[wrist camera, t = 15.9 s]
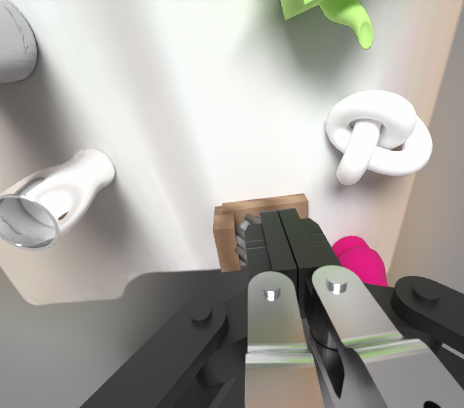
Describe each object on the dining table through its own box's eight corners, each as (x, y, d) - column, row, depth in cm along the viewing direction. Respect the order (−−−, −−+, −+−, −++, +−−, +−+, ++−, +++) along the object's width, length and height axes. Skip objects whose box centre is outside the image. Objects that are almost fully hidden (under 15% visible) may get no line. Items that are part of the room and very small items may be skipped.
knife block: (222, 248, 45) (221, 299, 35) (214, 204, 41) (210, 249, 31) (307, 238, 45) (330, 288, 35) (308, 192, 40) (334, 235, 30)
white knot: (296, 119, 35) (316, 136, 27) (381, 59, 31) (432, 58, 24) (333, 180, 39) (359, 209, 31) (410, 133, 36) (461, 153, 28)
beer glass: (108, 141, 36) (38, 187, 23) (124, 186, 39) (72, 248, 26) (61, 148, 36) (-34, 197, 23) (81, 192, 40) (9, 256, 27)
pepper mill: (320, 246, 46) (377, 361, 28) (358, 226, 43) (445, 336, 26) (338, 270, 48) (400, 388, 31) (374, 252, 46) (463, 367, 29)
